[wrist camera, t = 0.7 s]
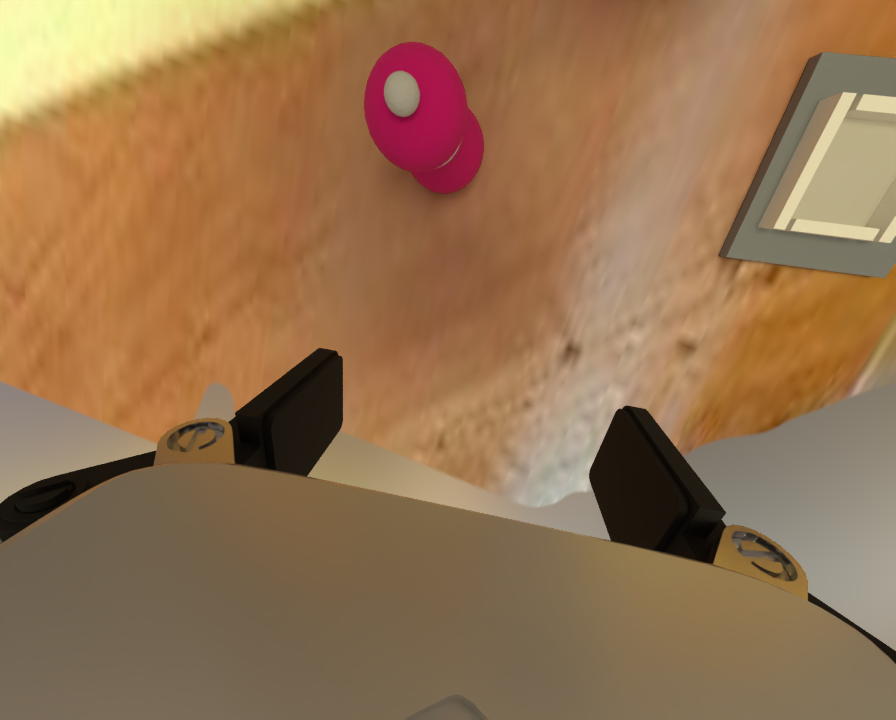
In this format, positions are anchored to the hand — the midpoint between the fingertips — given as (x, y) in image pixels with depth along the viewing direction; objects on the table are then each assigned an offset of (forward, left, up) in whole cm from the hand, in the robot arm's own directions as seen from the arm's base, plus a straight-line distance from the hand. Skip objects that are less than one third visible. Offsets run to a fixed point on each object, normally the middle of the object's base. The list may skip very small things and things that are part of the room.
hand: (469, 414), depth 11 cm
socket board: (-13, +31, -30) cm, 45 cm away
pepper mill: (-11, -6, -30) cm, 32 cm away
